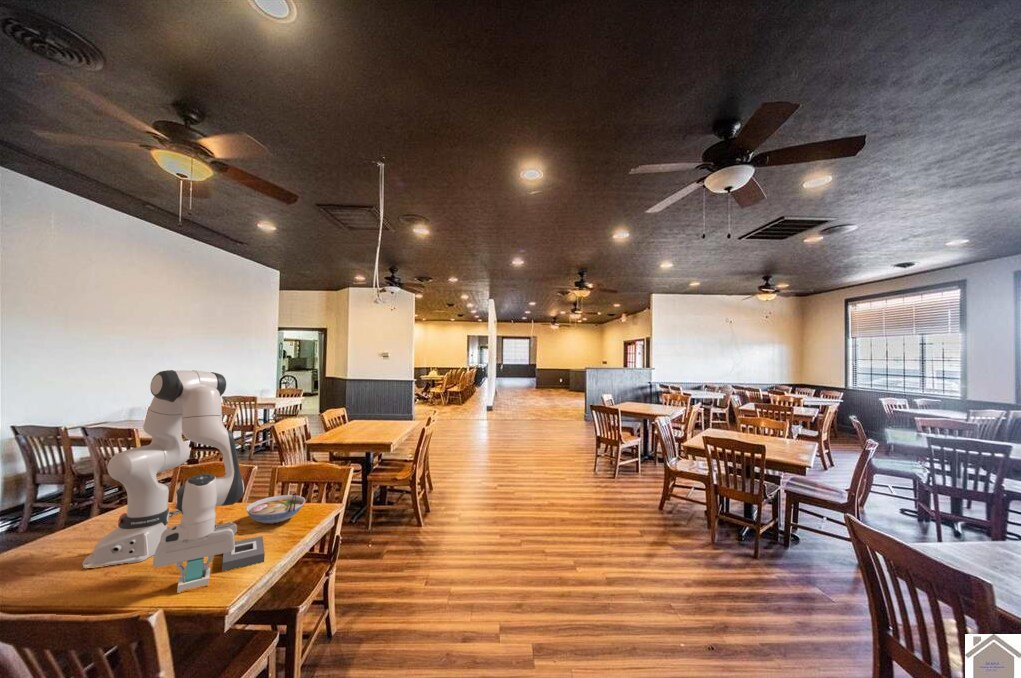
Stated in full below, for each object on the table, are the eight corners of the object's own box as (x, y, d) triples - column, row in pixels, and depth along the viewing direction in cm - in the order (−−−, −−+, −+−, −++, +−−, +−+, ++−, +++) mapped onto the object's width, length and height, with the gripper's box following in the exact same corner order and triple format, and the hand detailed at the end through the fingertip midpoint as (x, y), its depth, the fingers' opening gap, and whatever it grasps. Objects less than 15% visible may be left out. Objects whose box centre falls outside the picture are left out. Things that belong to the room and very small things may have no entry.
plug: (184, 589, 119) (186, 562, 119) (186, 583, 122) (188, 557, 123) (201, 585, 121) (203, 559, 122) (202, 579, 124) (204, 553, 125)
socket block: (222, 571, 129) (222, 561, 129) (223, 552, 142) (224, 542, 142) (264, 562, 136) (264, 552, 136) (262, 543, 149) (262, 535, 149)
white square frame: (177, 594, 116) (177, 585, 117) (180, 582, 122) (180, 574, 123) (208, 586, 121) (208, 578, 121) (209, 575, 127) (210, 567, 127)
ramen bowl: (250, 514, 177) (251, 496, 177) (306, 507, 186) (307, 490, 187) (238, 536, 154) (240, 516, 155) (302, 527, 164) (303, 508, 164)
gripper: (237, 517, 131) (234, 559, 130) (157, 531, 119) (153, 577, 119) (237, 524, 126) (234, 567, 125) (153, 539, 114) (149, 587, 113)
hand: (194, 572), depth 122 cm, fingers closed on plug, 4 cm apart
